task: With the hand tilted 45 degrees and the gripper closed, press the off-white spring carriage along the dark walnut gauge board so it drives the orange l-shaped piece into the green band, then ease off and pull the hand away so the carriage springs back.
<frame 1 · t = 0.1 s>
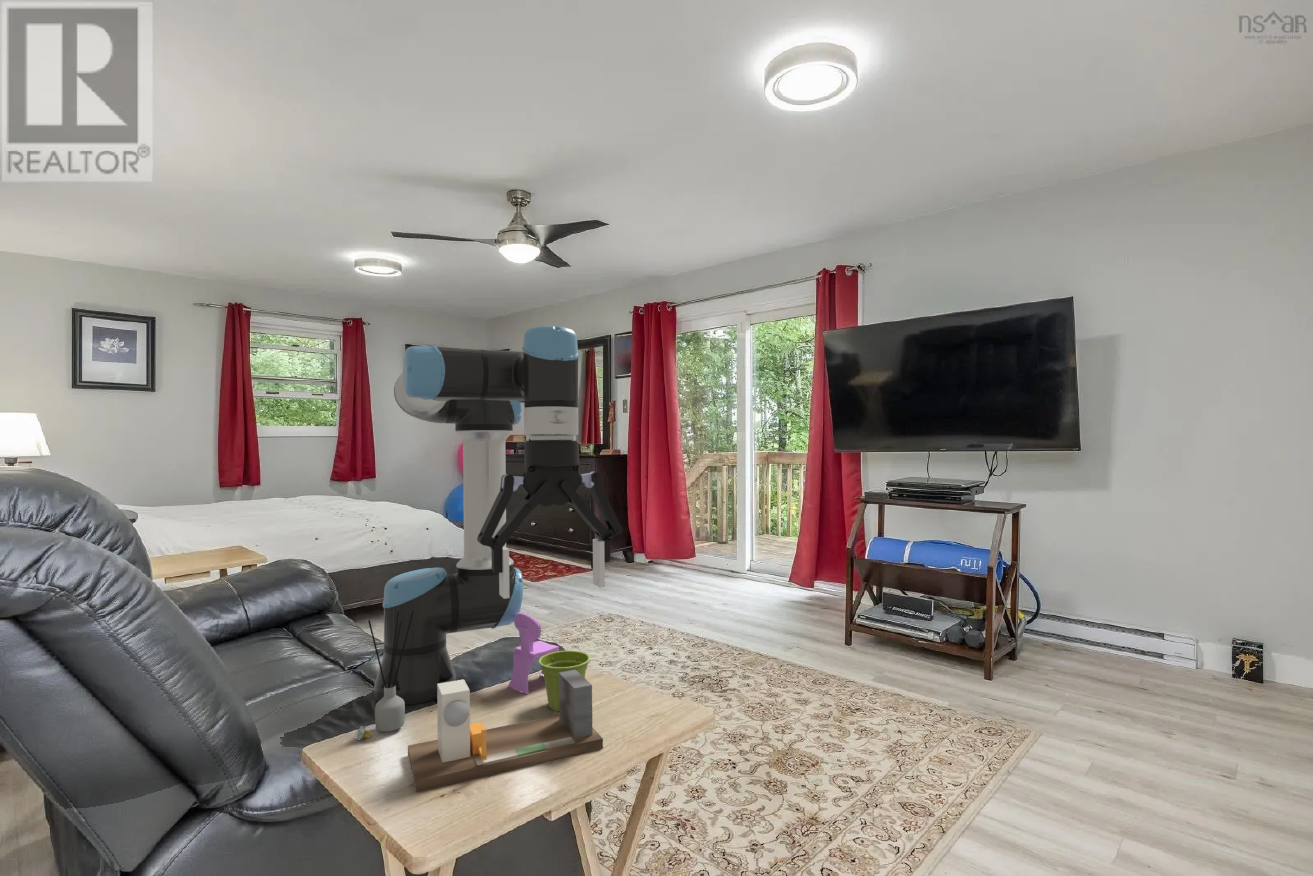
hand: (553, 591, 89), 28 cm above the table, tool pointing down, fingers open, 13 cm apart
gauge board: (506, 751, 101), on the table
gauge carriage: (453, 720, 97), point 7 cm above the table, slide at 0.0 cm
plant pot: (565, 706, 119), on the table
orange l-shaped piece: (479, 736, 97), point 4 cm above the table, slide at 0.0 cm
toy chair: (535, 685, 129), on the table
reed diffuser: (389, 734, 108), on the table
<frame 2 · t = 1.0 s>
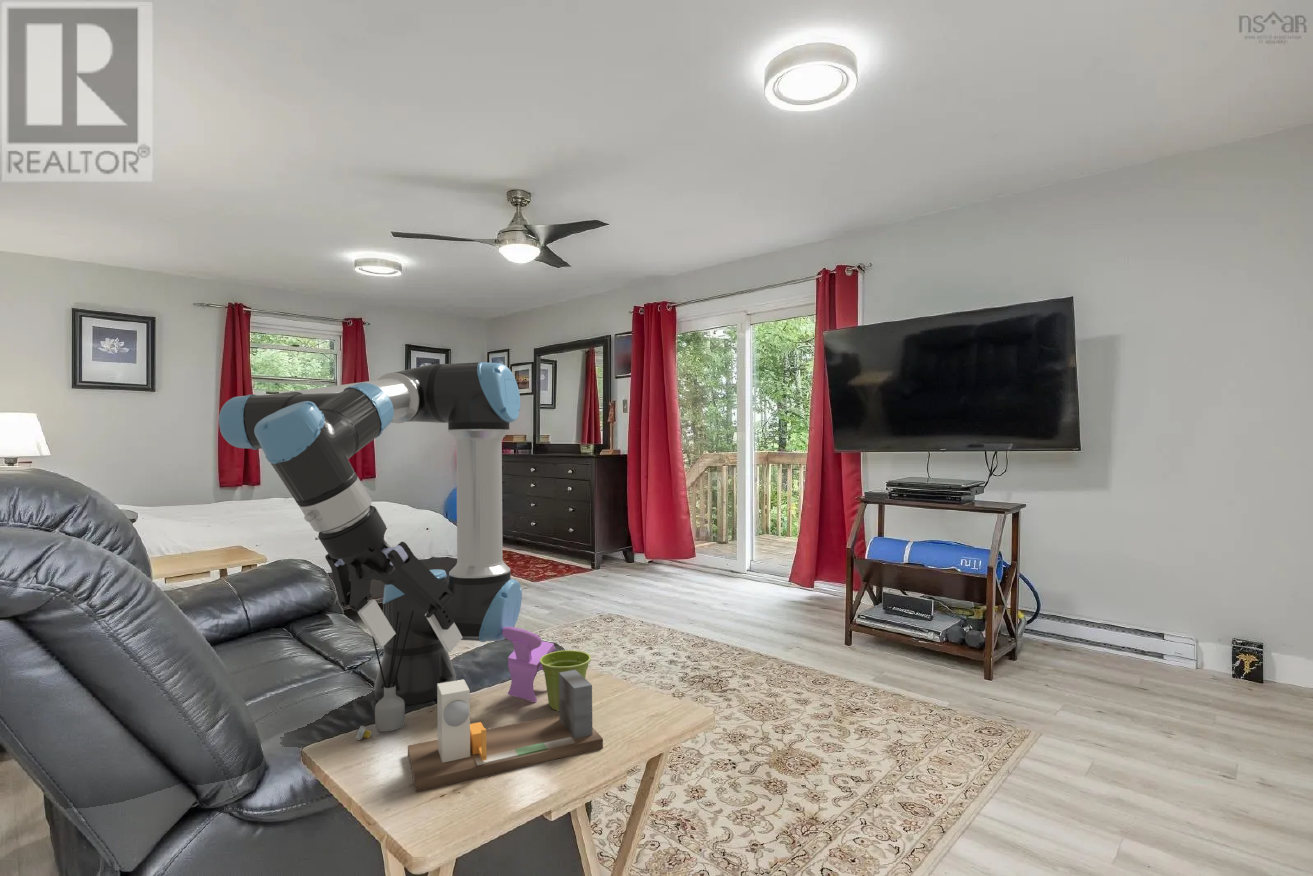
hand: (420, 642, 90), 21 cm above the table, tool tilted 30°, fingers open, 13 cm apart
toy chair: (534, 683, 125), point 2 cm above the table, touching arm
everything else where it was.
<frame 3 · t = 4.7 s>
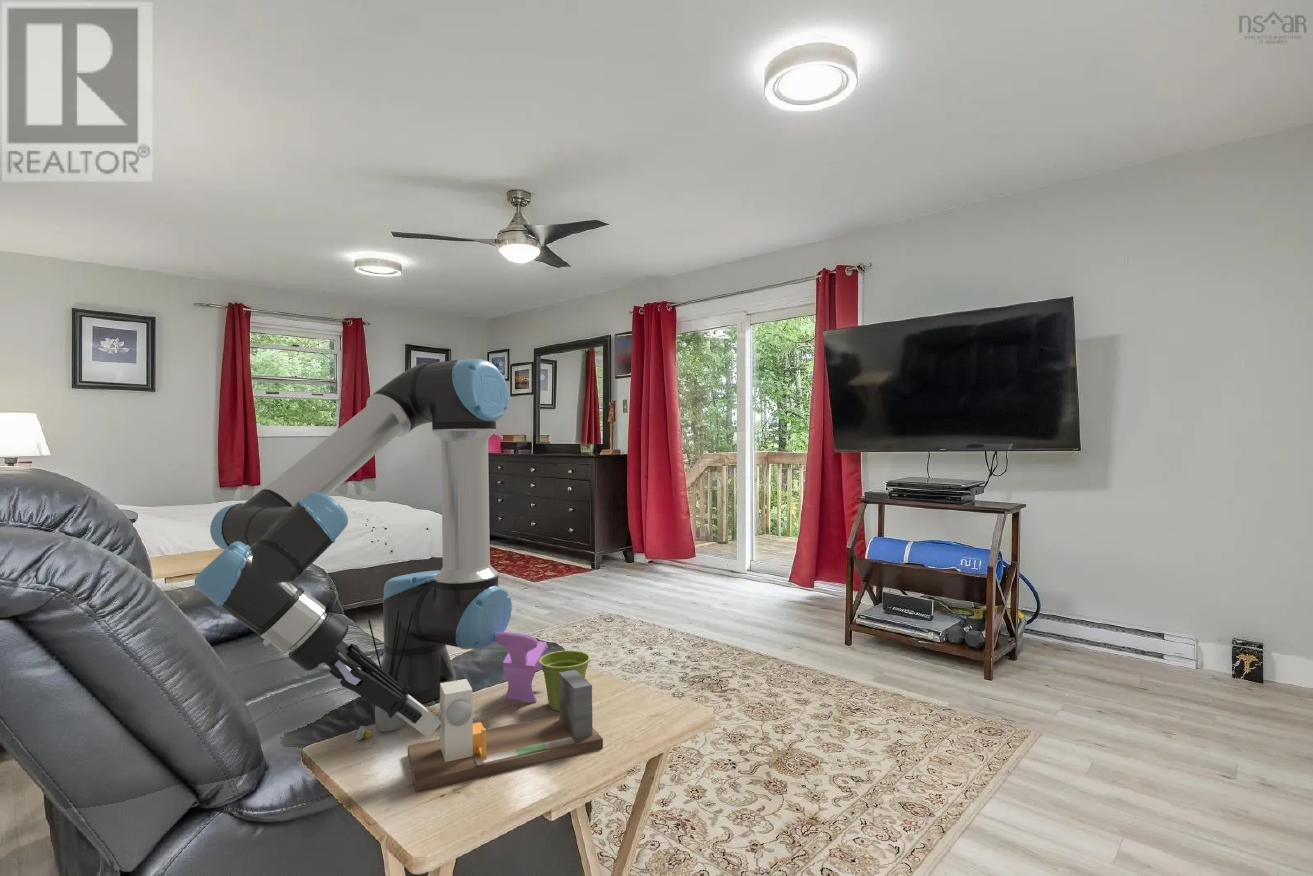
hand: (434, 728, 96), 6 cm above the table, tool tilted 45°, fingers closed
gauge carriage: (456, 720, 97), point 7 cm above the table, slide at 0.4 cm, touching gripper
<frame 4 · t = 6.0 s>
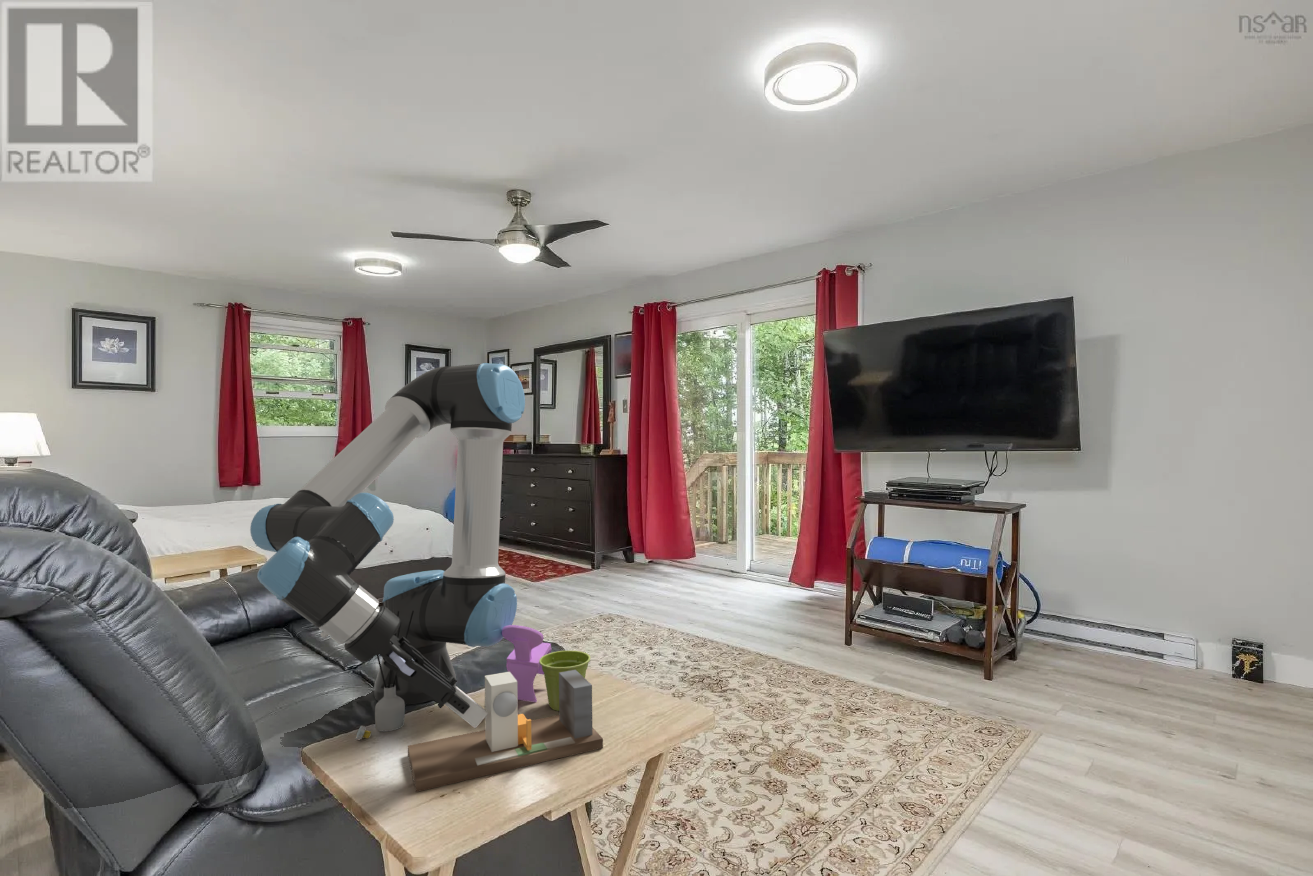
hand: (480, 719, 99), 6 cm above the table, tool tilted 45°, fingers closed
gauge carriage: (501, 711, 100), point 7 cm above the table, slide at 7.2 cm, touching gripper, orange l-shaped piece
orange l-shaped piece: (522, 727, 100), point 4 cm above the table, slide at 6.7 cm, touching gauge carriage
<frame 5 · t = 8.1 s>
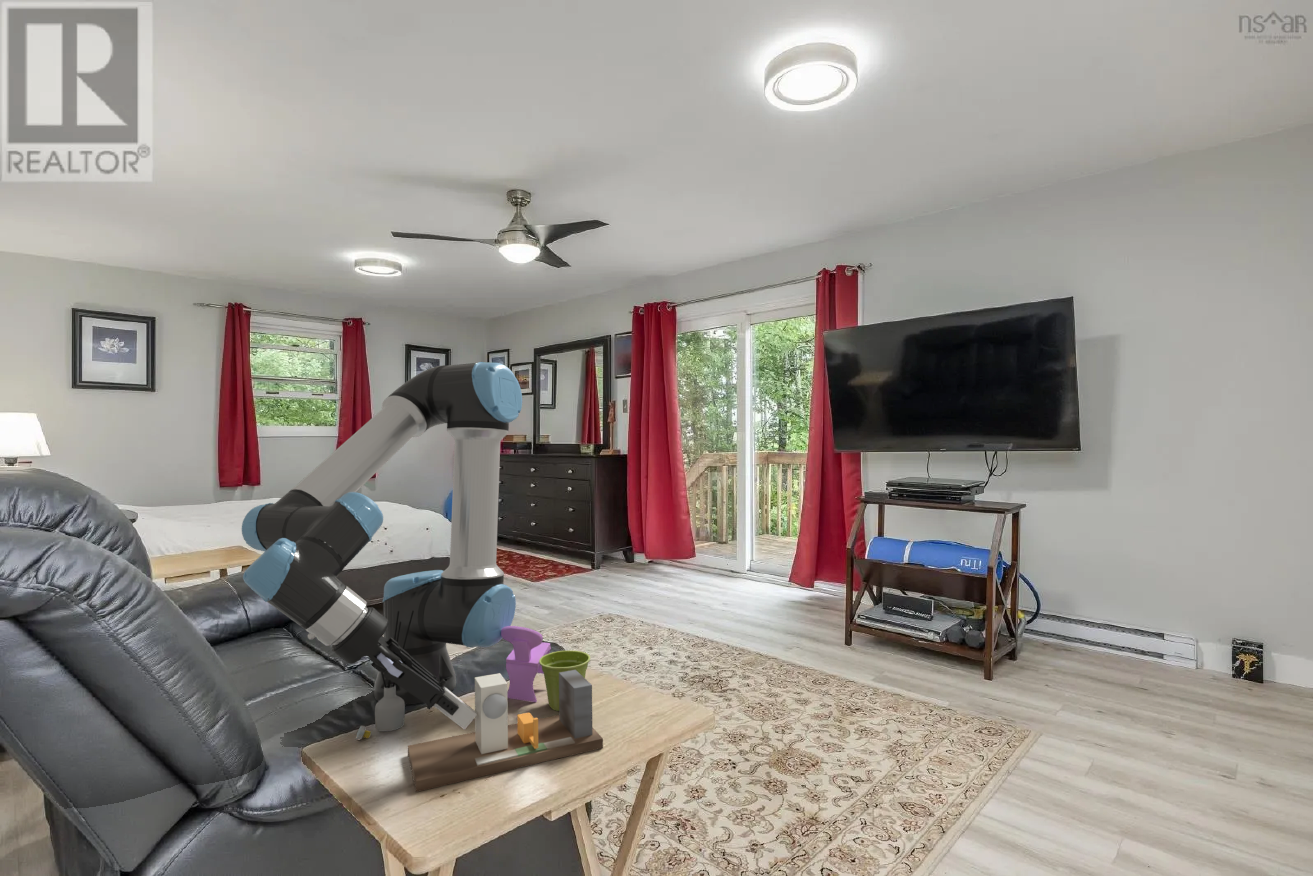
hand: (469, 720, 98), 6 cm above the table, tool tilted 45°, fingers closed
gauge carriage: (491, 713, 100), point 7 cm above the table, slide at 5.7 cm, touching gripper
orange l-shaped piece: (529, 726, 101), point 4 cm above the table, slide at 7.8 cm
everything else where it was.
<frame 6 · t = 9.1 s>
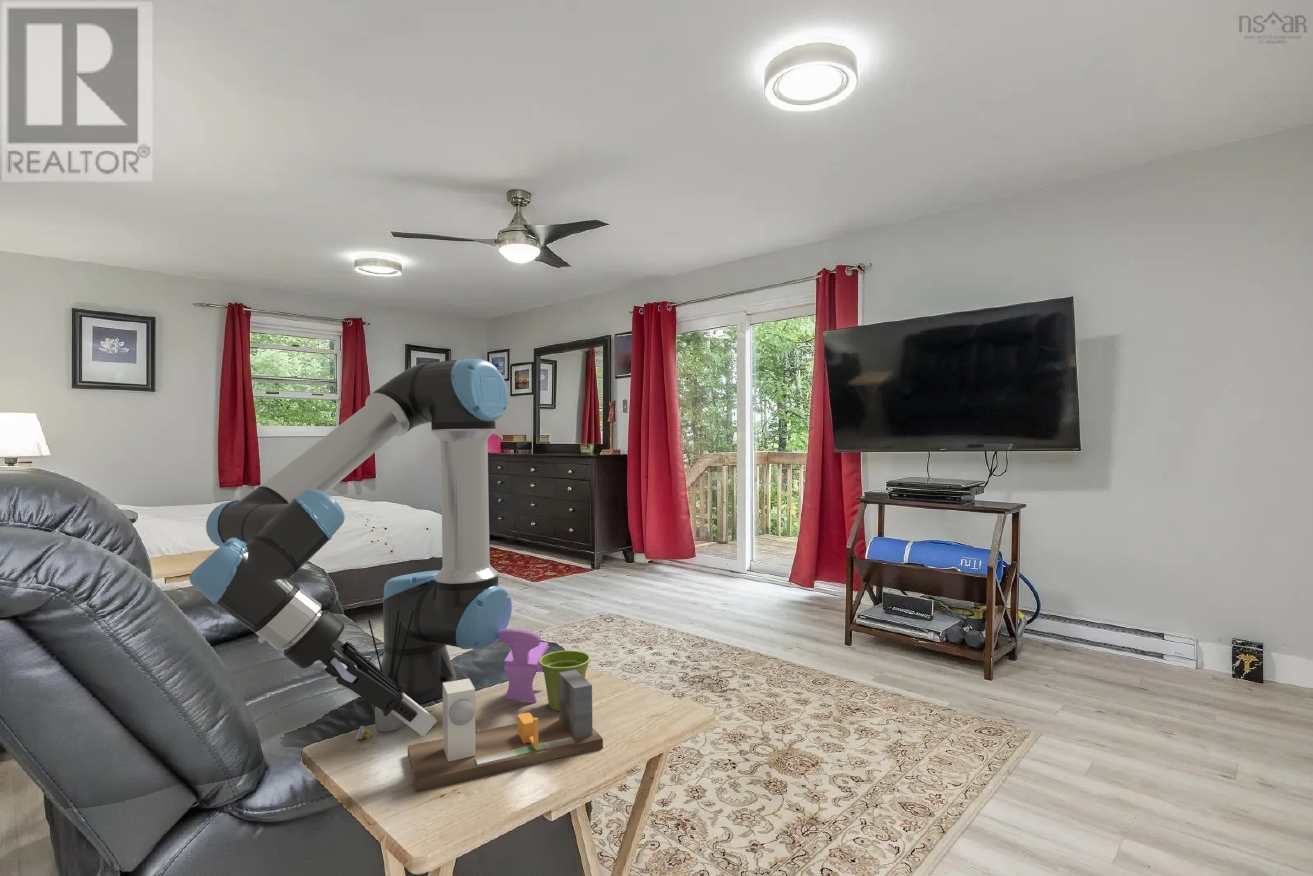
hand: (429, 727, 95), 6 cm above the table, tool tilted 45°, fingers closed
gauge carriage: (459, 719, 97), point 7 cm above the table, slide at 0.8 cm
toy chair: (529, 684, 125), point 2 cm above the table
everything else where it was.
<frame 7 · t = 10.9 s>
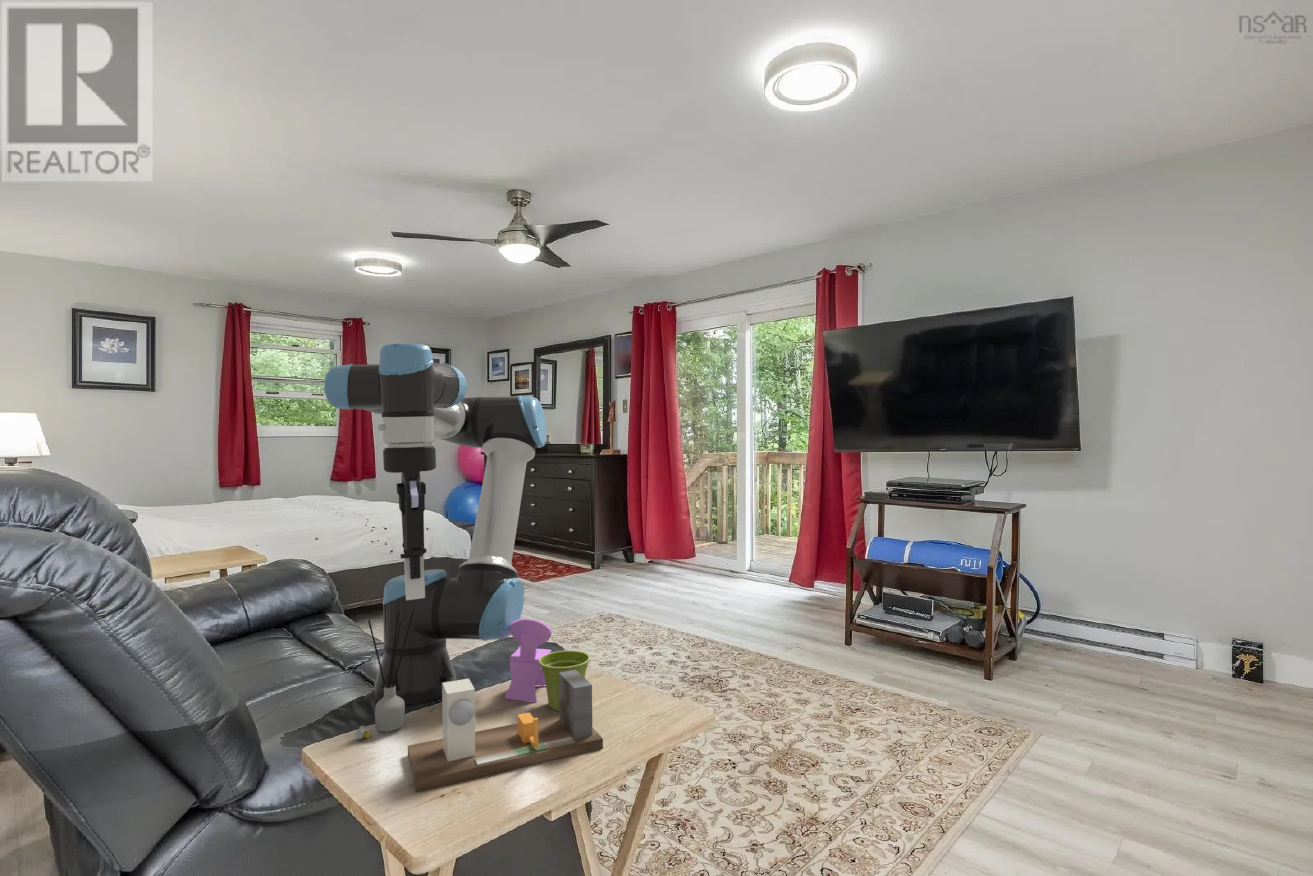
hand: (415, 597, 99), 25 cm above the table, tool pointing down, fingers closed
toy chair: (527, 692, 125), on the table
everything else where it was.
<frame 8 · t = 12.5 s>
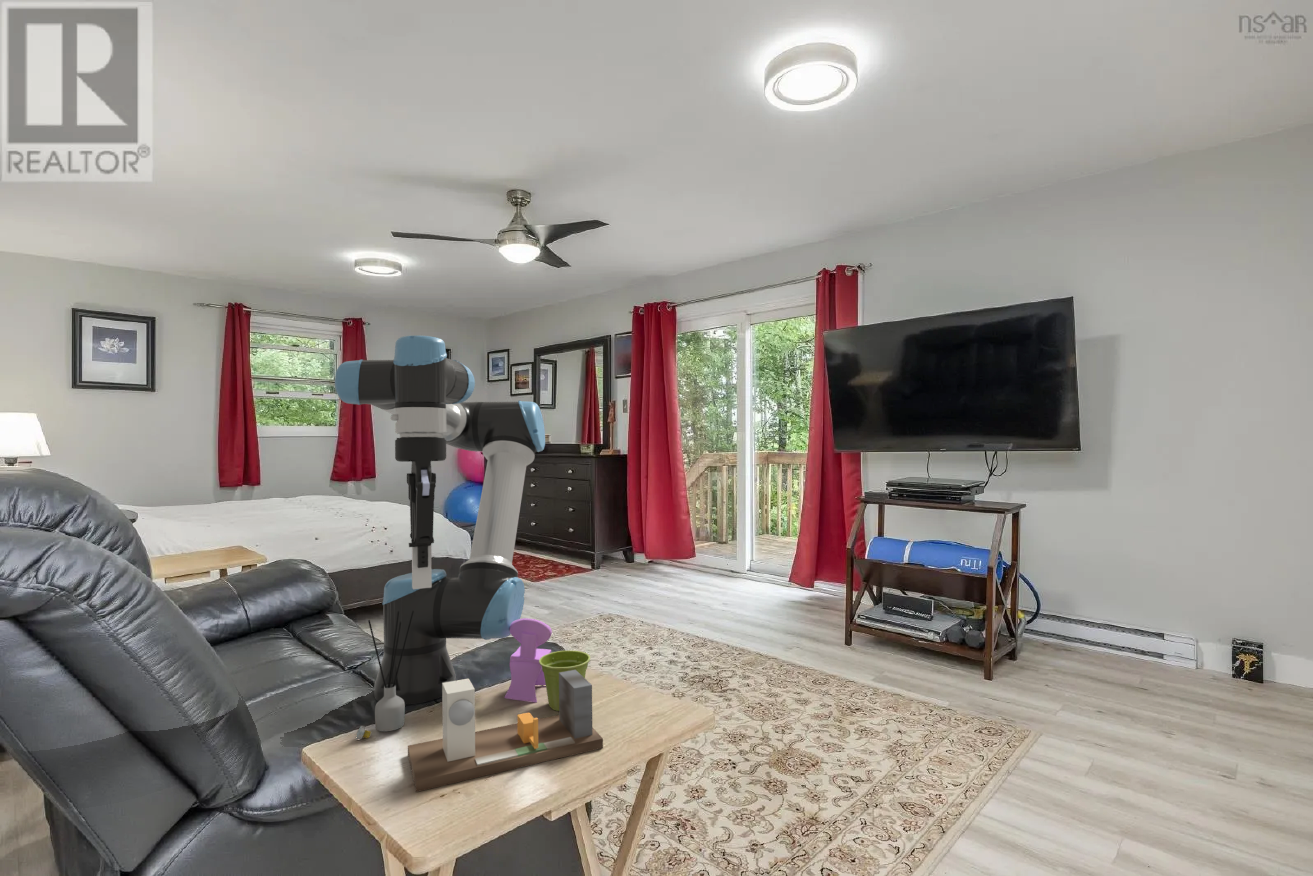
hand: (421, 587, 99), 26 cm above the table, tool pointing down, fingers closed
nothing on the table moved.
at the end: orange l-shaped piece slide at 7.8 cm; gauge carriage slide at 0.7 cm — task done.
